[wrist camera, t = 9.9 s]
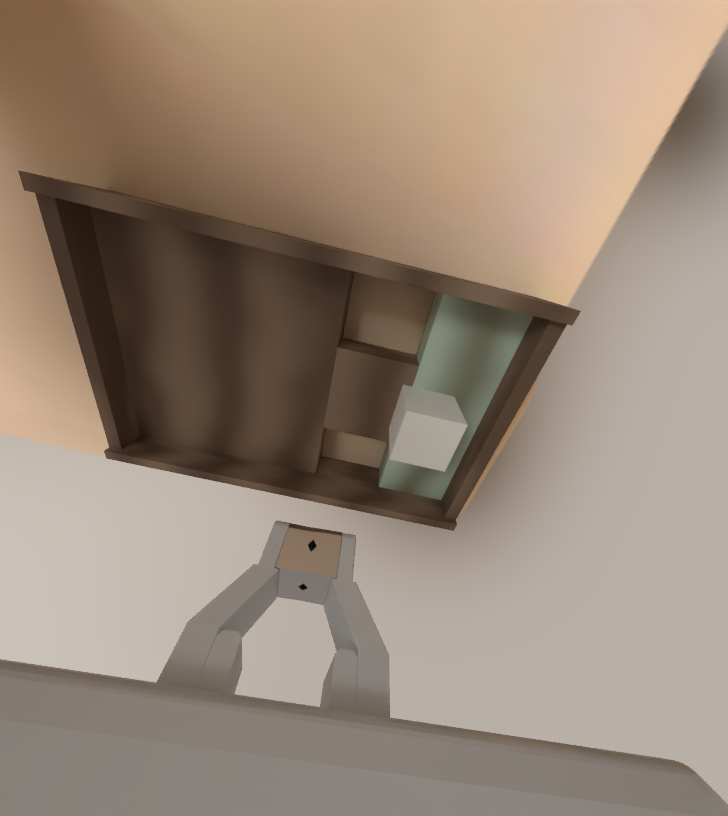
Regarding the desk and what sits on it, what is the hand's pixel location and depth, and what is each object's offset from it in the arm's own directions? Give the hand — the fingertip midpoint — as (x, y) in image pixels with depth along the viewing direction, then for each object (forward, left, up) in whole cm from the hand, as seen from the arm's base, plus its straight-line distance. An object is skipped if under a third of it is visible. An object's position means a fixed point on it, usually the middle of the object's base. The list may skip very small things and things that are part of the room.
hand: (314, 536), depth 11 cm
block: (-2, +5, -13) cm, 14 cm away
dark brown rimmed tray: (+2, -3, -15) cm, 16 cm away
